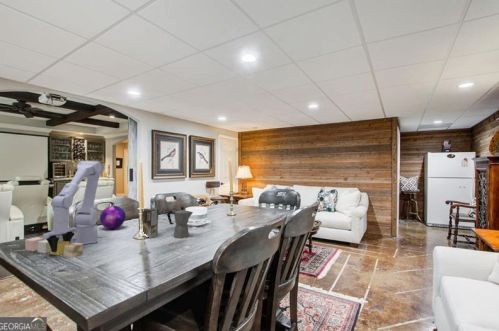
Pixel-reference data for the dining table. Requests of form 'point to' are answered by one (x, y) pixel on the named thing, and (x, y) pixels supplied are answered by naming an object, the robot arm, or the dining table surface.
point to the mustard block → (60, 247)
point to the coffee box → (150, 222)
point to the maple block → (73, 250)
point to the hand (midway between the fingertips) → (59, 249)
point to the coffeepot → (180, 222)
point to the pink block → (32, 243)
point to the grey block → (43, 246)
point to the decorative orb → (112, 217)
